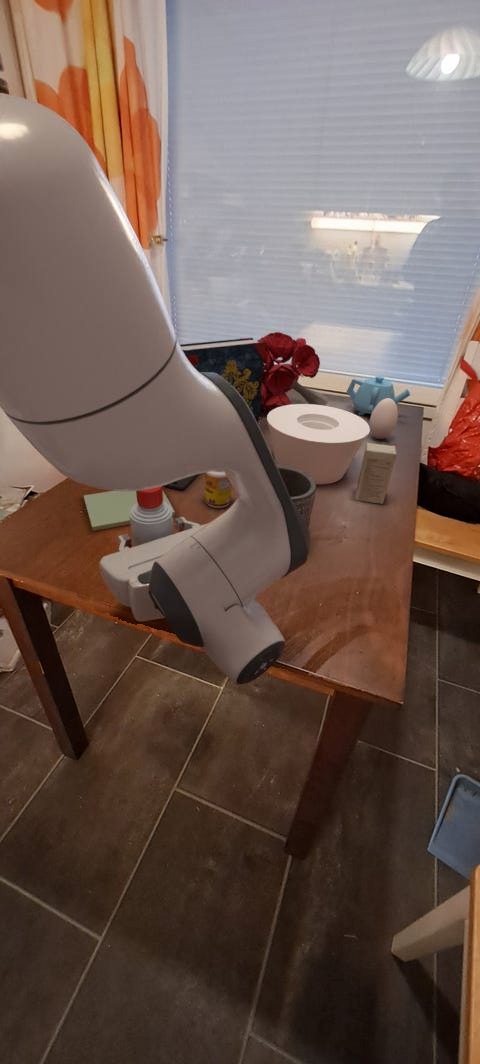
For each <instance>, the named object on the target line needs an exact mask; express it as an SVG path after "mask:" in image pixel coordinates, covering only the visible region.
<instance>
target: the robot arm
mask: <svg viewBox="0 0 480 1064" xmlns="http://www.w3.org/2000/svg"><path fill="white" fill-rule="evenodd" d="M89 145H90V144H88V142H87V140H85V138H84V137H83V136H82V135H81V134H80V132H79V131H78V130H77V129H76V128H75V127H74V126H73V125H72V124H70V123H69V121H68V120H66V119H65V117H62V116H61V115H60V114H59V113H57V112H56V111H54V110H52V109H51V108H49V107H47V106H45V105H43V104H41V103H39V102H36V101H33V100H30V99H27V98H25V97H22V96H18V95H13V94H7V93H4V92H0V408H1V410H2V411H3V413H4V414H5V415H6V417H7V418H9V420H10V421H11V423H12V424H13V425H14V426H15V427H16V429H17V430H18V432H20V433H21V435H22V436H23V437H24V439H26V441H27V442H29V444H30V445H31V446H32V447H33V448H34V449H35V450H36V451H37V452H38V453H39V454H40V456H42V457H43V458H44V459H45V460H46V461H47V462H48V463H49V464H50V465H51V466H52V467H53V468H54V469H56V471H58V472H59V473H60V474H61V475H63V476H65V477H66V478H67V479H70V480H71V481H74V482H76V483H78V484H81V485H85V486H86V487H87V486H88V487H91V488H95V489H99V490H105V491H139V490H147V489H152V488H157V487H160V486H162V487H164V485H167V484H169V483H172V482H175V481H178V480H181V479H184V478H186V477H190V476H193V475H197V474H198V475H201V474H205V472H210V471H217V470H223V471H224V472H225V474H226V476H227V477H228V479H229V481H230V482H231V484H232V488H233V489H234V490H235V492H236V494H237V495H238V496H237V498H236V500H235V501H234V502H233V504H232V505H231V506H230V507H229V508H228V509H227V510H226V511H225V512H223V513H221V514H220V515H219V516H217V517H216V518H214V519H213V520H211V521H210V522H208V523H204V524H200V523H197V522H194V521H190V520H187V519H186V518H185V517H184V516H180V517H177V518H175V519H173V523H174V528H175V529H176V530H177V531H178V532H176V533H173V535H169V536H166V537H163V538H160V539H157V540H154V541H151V542H148V543H144V544H141V545H138V546H135V547H133V543H132V537H130V536H129V534H128V533H125V534H120V535H118V536H117V542H118V551H117V552H113V553H110V554H107V555H104V556H102V558H101V559H100V561H99V563H98V566H99V572H100V573H99V574H100V577H101V580H102V582H103V584H104V586H105V587H106V588H107V590H108V591H109V593H110V594H111V596H113V598H114V599H115V600H116V601H117V602H119V603H120V605H123V606H124V607H128V608H130V610H131V613H132V616H133V618H134V620H136V621H137V622H146V621H153V620H161V619H166V621H167V622H168V624H169V626H170V628H171V630H172V632H173V634H174V635H175V636H176V637H175V638H177V640H179V641H180V642H181V643H183V644H186V645H189V646H193V647H198V648H201V650H202V651H203V653H204V654H205V655H206V656H207V657H208V659H209V660H210V661H211V662H212V663H213V664H214V666H215V667H217V669H218V670H219V671H220V672H221V673H222V674H223V675H224V676H225V677H226V678H228V679H229V680H230V681H231V683H233V684H235V685H237V686H238V685H239V686H240V685H245V684H249V683H250V682H253V681H256V680H257V679H258V678H259V677H261V676H262V675H263V674H265V673H266V672H267V671H268V670H269V669H270V668H271V667H272V666H274V665H275V664H276V663H277V661H278V660H279V659H280V658H281V656H282V655H283V653H284V649H285V648H286V639H285V637H284V636H283V634H282V632H281V631H280V629H279V628H278V626H277V625H276V623H275V622H274V621H273V619H272V617H270V614H268V612H267V611H266V610H265V608H264V607H262V605H261V604H260V603H259V601H257V599H256V598H257V597H259V596H260V595H261V594H262V593H264V592H265V591H267V589H269V588H270V587H271V586H273V585H274V584H276V583H277V582H278V581H279V580H281V579H283V578H286V577H287V576H288V575H290V574H291V573H293V572H295V571H296V570H298V569H299V568H300V567H302V566H303V565H305V564H306V563H307V560H308V557H309V553H310V546H311V532H310V529H308V526H307V524H306V523H305V521H304V519H303V517H302V516H301V514H300V512H299V511H298V509H297V508H296V506H295V504H294V503H293V501H292V499H291V497H290V495H289V493H288V491H287V488H286V486H285V484H284V481H283V479H282V477H281V474H280V472H279V470H278V467H277V465H276V463H275V458H274V454H272V453H273V452H272V451H271V449H270V447H269V444H268V442H267V440H266V438H265V436H264V434H263V432H262V429H261V427H260V425H259V424H258V423H257V421H256V419H255V417H254V415H253V413H252V411H251V410H250V408H249V406H248V405H247V403H246V402H245V400H244V399H243V398H242V396H241V395H240V394H239V393H238V391H237V390H236V389H235V388H234V387H233V386H232V385H231V384H230V383H229V382H228V381H227V380H225V379H224V378H223V377H221V376H220V375H218V374H216V373H214V372H198V371H197V370H196V369H195V368H194V367H193V366H192V364H191V363H190V362H189V360H188V359H187V357H186V356H185V354H184V352H183V350H182V348H181V346H180V345H181V343H180V341H179V338H178V336H177V334H176V330H175V327H174V324H173V321H172V319H171V316H170V313H169V310H168V307H167V305H166V302H165V298H164V296H163V294H162V291H161V289H160V286H159V284H158V281H157V279H156V277H155V274H154V272H153V270H152V268H151V265H150V263H149V260H148V259H147V257H146V254H145V251H144V249H143V247H142V245H141V243H140V241H139V238H138V236H137V234H136V232H135V230H134V228H133V226H132V224H131V222H130V220H129V218H128V216H127V213H126V212H125V210H124V207H123V206H122V204H121V202H120V200H119V198H118V195H117V194H116V192H115V190H114V189H113V187H112V184H111V183H110V181H109V180H108V177H107V175H106V173H105V172H104V169H103V168H102V166H101V164H100V162H99V160H98V158H97V157H96V155H95V153H94V152H93V150H92V148H91V147H90V146H89ZM198 475H197V476H198Z"/></svg>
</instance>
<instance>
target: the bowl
mask: <svg viewBox="0 0 480 1064" xmlns="http://www.w3.org/2000/svg"><path fill="white" fill-rule="evenodd" d="M266 420H267V426H268V431H269V437H270V442H271V446H272V453H273V458H274V460H275V463H276V465H278V466H286V467H291V468H295V469H298V470H301V471H303V472H305V473H307V474H308V475H310V476H311V477H312V478H313V479H314V481H315V483H316V485H328V484H332V483H336V482H338V481H340V480H341V479H343V477H344V476H345V474H346V472H347V471H348V469H349V467H350V465H351V464H352V462H353V460H354V458H355V457H356V455H357V453H358V452H359V450H360V448H361V447H362V445H363V444H364V442H365V440H366V438H367V437H368V435H369V433H370V432H371V430H370V426H369V423H368V422H367V421H366V420H365V419H364V418H362V417H361V416H359V415H356V414H354V413H353V412H350V411H347V410H345V409H341V408H337V407H333V406H328V405H326V406H323V405H314V404H309V403H291V405H285V406H281V407H278V408H275V409H273V410H272V411H269V412H268V414H267V415H266Z"/></svg>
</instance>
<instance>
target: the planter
mask: <svg viewBox="0 0 480 1064" xmlns="http://www.w3.org/2000/svg"><path fill="white" fill-rule="evenodd" d="M277 467H278V470H279V472H280V474H281V477H282V479H283V481H284V484H285V486H286V488H287V491H288V493H289V495H290V497H291V499H292V501H293V503H294V504H295V506H296V508H297V509H298V511H299V512H300V514H301V516H302V517H303V519H304V521H305V523H306V524H307V526H308V529H309V528H310V525H311V524H310V523H311V517H312V512H313V508H314V503H315V498H316V492H317V491H316V490H317V484H316V483H315V481H314V479H313V478H312V477H311V476H310V475H308V474H307V473H305V472H303V471H301V470H298V469H295V468H291V467H286V466H278V465H277ZM309 530H310V529H309Z"/></svg>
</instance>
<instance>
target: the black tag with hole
mask: <svg viewBox="0 0 480 1064" xmlns="http://www.w3.org/2000/svg"><path fill="white" fill-rule="evenodd" d="M198 476H199V474H197V475H193V476H190V477H186V478H184V479H181V480H178V481H175V482H172V483H169V484H167V485H163V487H165V488H169V489H173V490H178V491H185V490H186V489H187V488H188V487H189V485H190V484H191V483H192V482H193V481H194V480H195V479H196V478H197V477H198Z"/></svg>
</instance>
